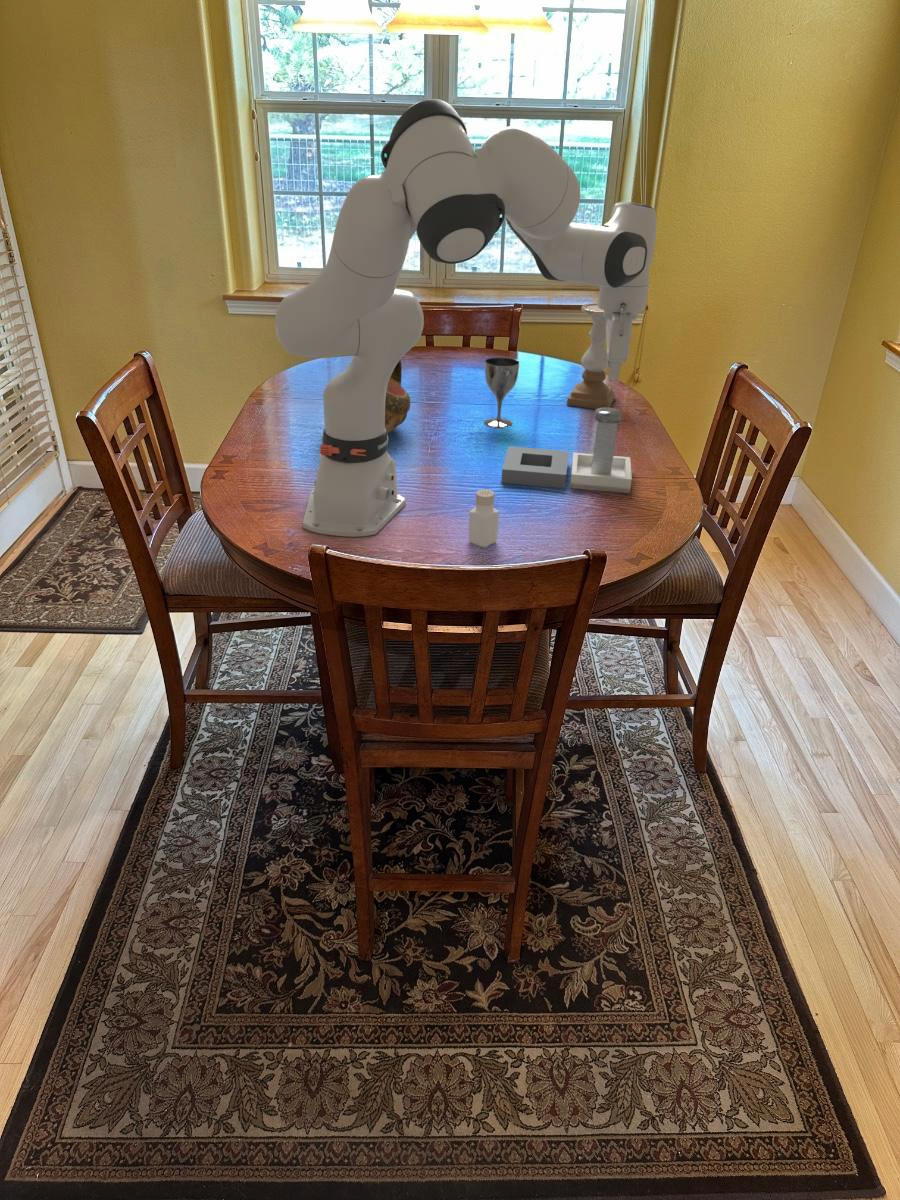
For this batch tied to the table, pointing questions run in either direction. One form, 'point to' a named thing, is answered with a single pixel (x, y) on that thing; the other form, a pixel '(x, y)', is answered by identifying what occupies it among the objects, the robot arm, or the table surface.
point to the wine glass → (500, 384)
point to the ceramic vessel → (396, 400)
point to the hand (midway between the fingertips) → (612, 372)
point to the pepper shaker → (483, 520)
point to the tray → (613, 483)
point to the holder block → (535, 467)
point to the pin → (605, 440)
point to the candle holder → (593, 366)
